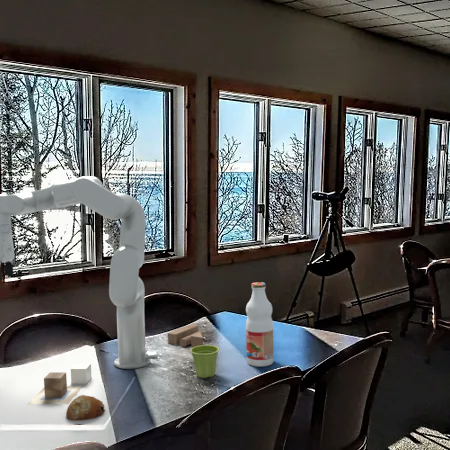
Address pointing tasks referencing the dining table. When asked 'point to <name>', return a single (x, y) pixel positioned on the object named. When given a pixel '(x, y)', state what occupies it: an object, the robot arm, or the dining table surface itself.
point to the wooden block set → (186, 336)
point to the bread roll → (84, 408)
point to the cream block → (81, 373)
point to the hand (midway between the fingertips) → (2, 277)
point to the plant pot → (205, 360)
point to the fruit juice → (259, 328)
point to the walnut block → (55, 385)
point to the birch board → (64, 400)
